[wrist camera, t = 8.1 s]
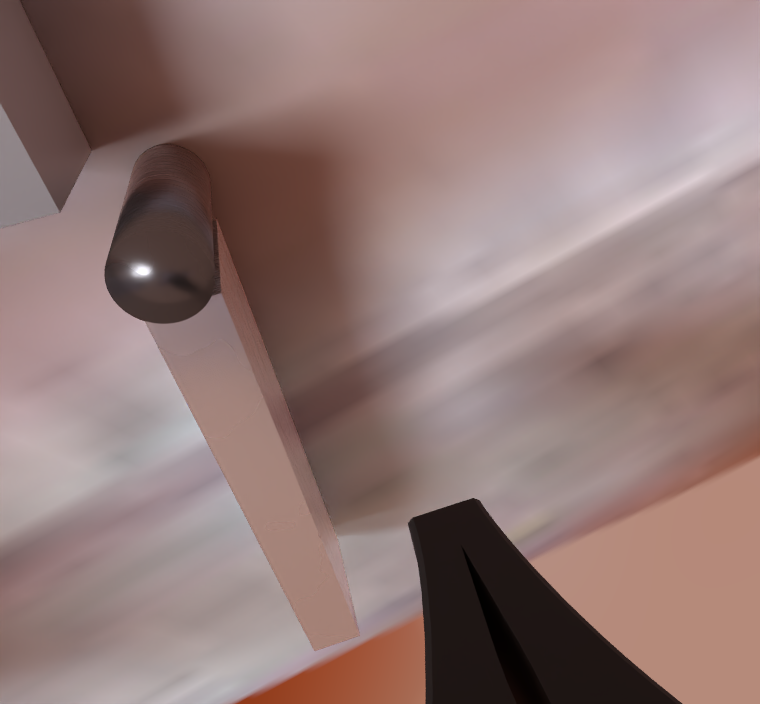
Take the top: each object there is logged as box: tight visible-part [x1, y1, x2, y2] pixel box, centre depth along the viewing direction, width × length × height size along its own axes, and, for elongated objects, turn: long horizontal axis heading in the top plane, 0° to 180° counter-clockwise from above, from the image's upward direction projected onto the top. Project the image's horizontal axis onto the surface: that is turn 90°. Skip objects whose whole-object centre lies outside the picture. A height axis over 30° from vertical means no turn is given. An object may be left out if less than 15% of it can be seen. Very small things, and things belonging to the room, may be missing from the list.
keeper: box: [105, 145, 360, 651], centre depth 13 cm, size 12×1×4 cm, turn 11°
